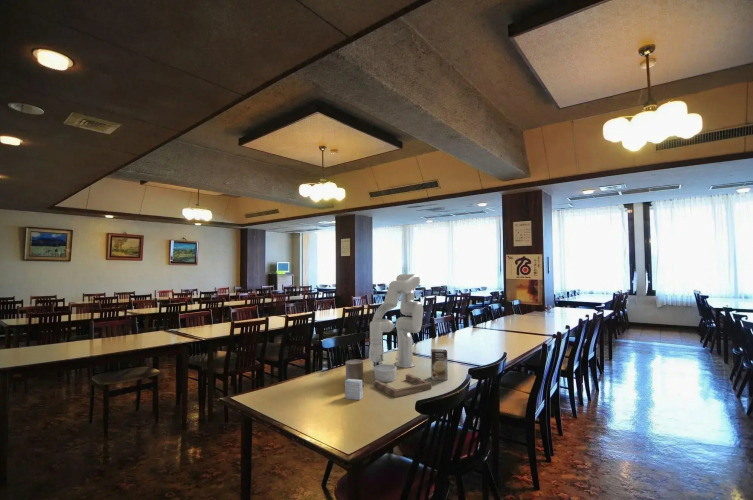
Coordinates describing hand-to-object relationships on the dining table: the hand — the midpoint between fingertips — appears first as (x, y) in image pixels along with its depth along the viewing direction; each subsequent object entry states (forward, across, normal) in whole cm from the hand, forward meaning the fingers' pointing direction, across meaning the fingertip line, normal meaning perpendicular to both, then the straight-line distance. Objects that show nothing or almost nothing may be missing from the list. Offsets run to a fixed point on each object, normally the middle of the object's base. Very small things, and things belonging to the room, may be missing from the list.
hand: (376, 372), depth 215 cm
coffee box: (+2, +25, +27) cm, 37 cm away
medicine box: (+2, +27, -29) cm, 39 cm away
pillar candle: (+2, +12, -21) cm, 24 cm away
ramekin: (+2, +10, 0) cm, 10 cm away
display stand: (+2, +26, 0) cm, 27 cm away
